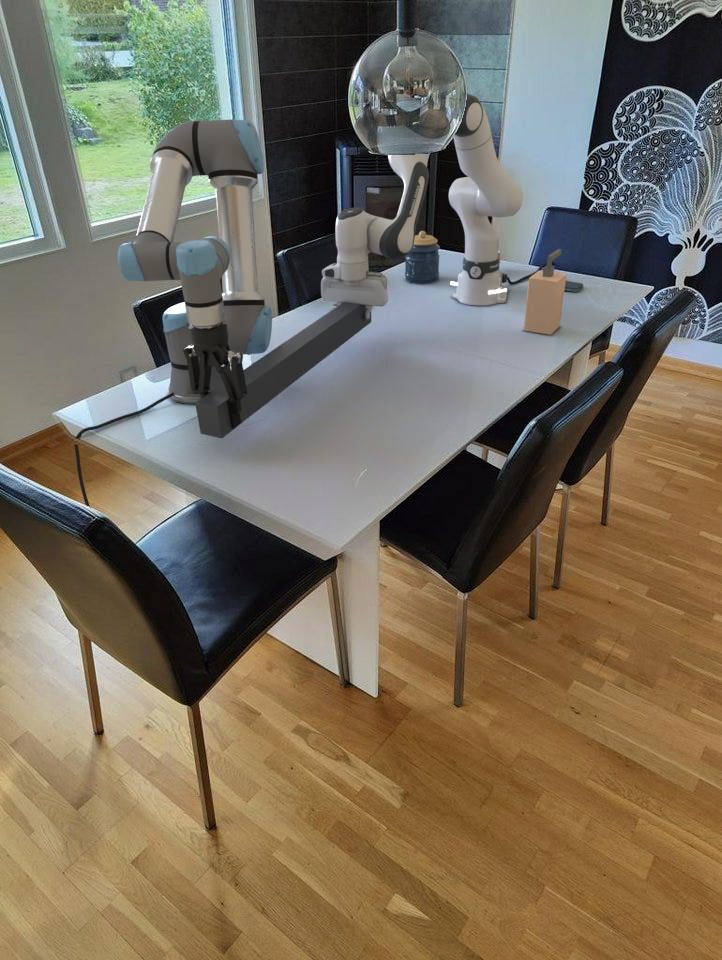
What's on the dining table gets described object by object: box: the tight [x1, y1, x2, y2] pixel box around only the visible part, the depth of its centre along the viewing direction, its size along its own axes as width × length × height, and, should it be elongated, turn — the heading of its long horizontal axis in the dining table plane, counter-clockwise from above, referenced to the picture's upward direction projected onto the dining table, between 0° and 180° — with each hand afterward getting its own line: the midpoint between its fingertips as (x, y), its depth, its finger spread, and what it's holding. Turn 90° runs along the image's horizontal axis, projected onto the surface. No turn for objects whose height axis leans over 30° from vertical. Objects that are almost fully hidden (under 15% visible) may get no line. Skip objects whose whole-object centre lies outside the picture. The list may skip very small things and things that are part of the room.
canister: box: [404, 230, 441, 284], centre depth 251 cm, size 13×13×18 cm
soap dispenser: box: [523, 248, 567, 336], centre depth 203 cm, size 13×9×22 cm
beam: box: [194, 302, 372, 439], centre depth 172 cm, size 77×6×8 cm, turn 155°
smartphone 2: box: [564, 280, 584, 293], centre depth 241 cm, size 8×2×15 cm
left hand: (224, 422), depth 148 cm, fingers closed on beam, 6 cm apart
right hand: (355, 317), depth 197 cm, fingers closed on beam, 5 cm apart
